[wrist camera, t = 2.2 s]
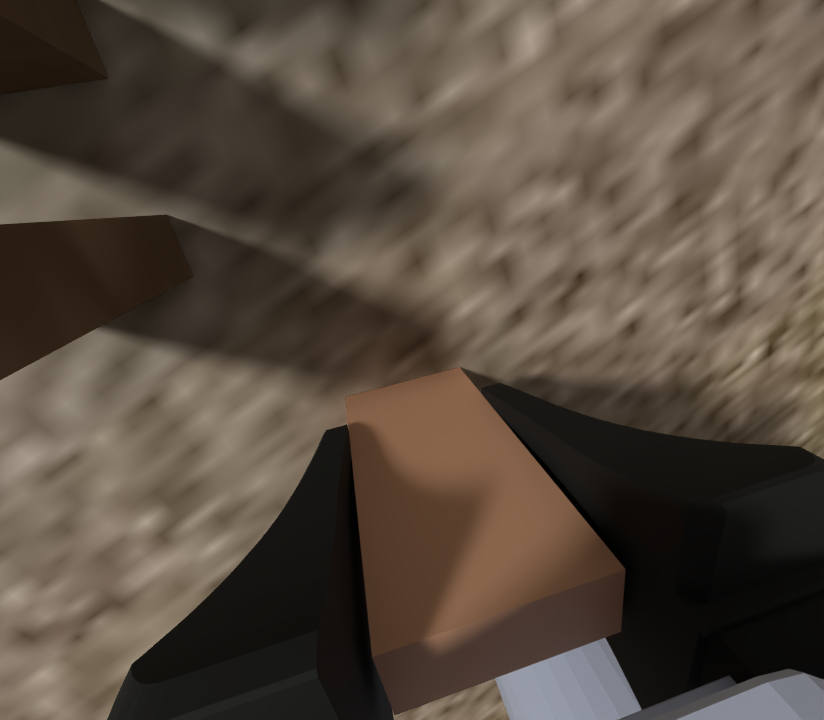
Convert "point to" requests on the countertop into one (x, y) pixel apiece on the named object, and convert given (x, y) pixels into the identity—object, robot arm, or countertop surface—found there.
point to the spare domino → (467, 544)
